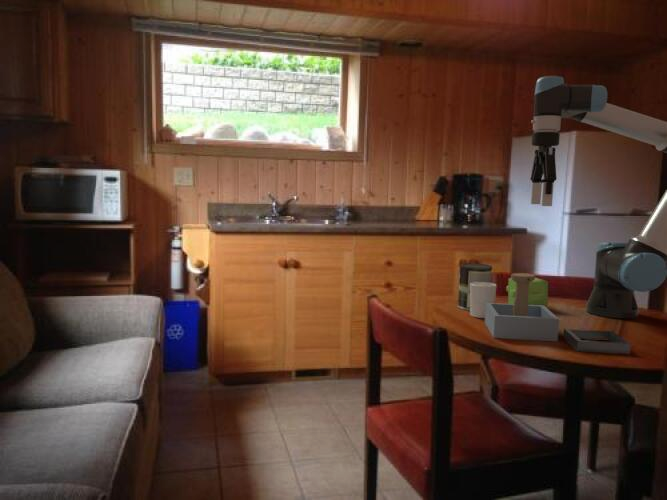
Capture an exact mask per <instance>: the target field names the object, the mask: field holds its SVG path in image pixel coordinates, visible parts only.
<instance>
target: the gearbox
mask: <svg viewBox="0 0 667 500" xmlns="http://www.w3.org/2000/svg"><path fill="white" fill-rule="evenodd" d="M505 289H506V292H507V294H508V295H507V296H508V297H507V299H508V303H507V304H514V298H515V291H516V282H515V281H513V280H512V279H511V277H510V278H508V285H507V286H506V287H505ZM548 301H549V281H547V280H545V279H541V278H538V277H535V280H534V281H532V282H530V283H529V293H528V305H542V306H545V307H546V308H547V309H549V308H548V305H549V303H548Z"/></svg>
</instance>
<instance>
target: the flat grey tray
mask: <svg viewBox="0 0 667 500" xmlns="http://www.w3.org/2000/svg"><path fill="white" fill-rule="evenodd" d="M562 335H563V336H562V337H563V339H564V340H565V341H566V342H567V343H568V344H569V345H570V346H572V348H574V349H575V350H576V351H577V352H583V353H584V352H585V353H589V352H590V353H602V354H603V353H604V354H605V353H606V354H607V353H608V354H620V355H622V354H623V355H630V354H631V345H632V344H631V343H630V342H628V341H627V340H626V339H625V338H623V337H621V336H620V335H619V334H617V333H616V332H614V331H612V330H599V329H583V328H582V329H581V328H563V333H562ZM581 339H585V340H581ZM591 339H609V340H610V342H609V341H596V340H591Z"/></svg>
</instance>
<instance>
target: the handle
mask: <svg viewBox="0 0 667 500" xmlns="http://www.w3.org/2000/svg"><path fill="white" fill-rule="evenodd" d="M510 278H511V279H512V280H513V281H515V282H516V291H515V298H514V305H513V316H528V293H529V283H530V282H532V281H534V280H535V278H536V275H535V274H532V273H524V272H522V273H521V272H520V273H519V272H517V273H511V274H510Z"/></svg>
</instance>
